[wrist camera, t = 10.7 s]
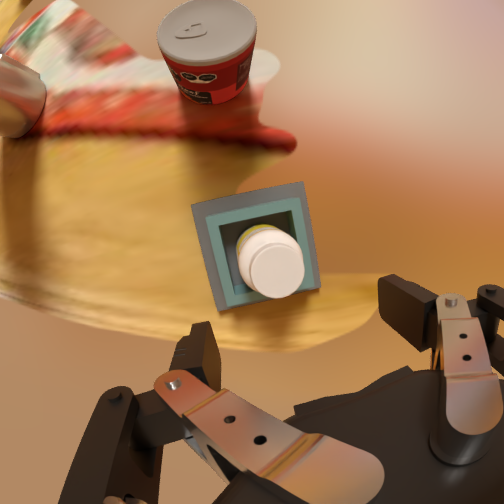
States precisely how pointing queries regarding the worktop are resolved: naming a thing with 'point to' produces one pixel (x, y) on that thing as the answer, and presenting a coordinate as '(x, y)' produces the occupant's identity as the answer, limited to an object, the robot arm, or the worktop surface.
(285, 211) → the grey-teal square frame
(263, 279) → the supplement bottle
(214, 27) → the canned food
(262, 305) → the worktop surface
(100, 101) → the worktop surface
